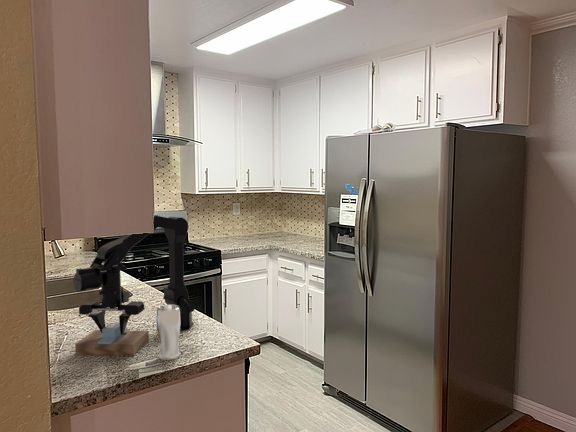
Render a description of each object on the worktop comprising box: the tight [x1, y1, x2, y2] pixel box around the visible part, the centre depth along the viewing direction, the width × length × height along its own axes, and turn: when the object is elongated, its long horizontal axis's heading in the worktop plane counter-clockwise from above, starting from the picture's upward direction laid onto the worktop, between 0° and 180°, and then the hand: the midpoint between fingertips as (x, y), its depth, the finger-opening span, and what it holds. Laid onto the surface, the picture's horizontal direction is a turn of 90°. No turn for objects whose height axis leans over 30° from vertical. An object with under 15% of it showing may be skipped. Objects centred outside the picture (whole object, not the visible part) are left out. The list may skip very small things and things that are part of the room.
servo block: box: [98, 322, 129, 344], centre depth 137 cm, size 4×12×8 cm, turn 177°
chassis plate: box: [74, 329, 150, 357], centre depth 137 cm, size 18×12×4 cm, turn 87°
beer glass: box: [155, 304, 181, 361], centre depth 130 cm, size 7×7×15 cm
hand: (113, 334), depth 137 cm, fingers open, 6 cm apart
